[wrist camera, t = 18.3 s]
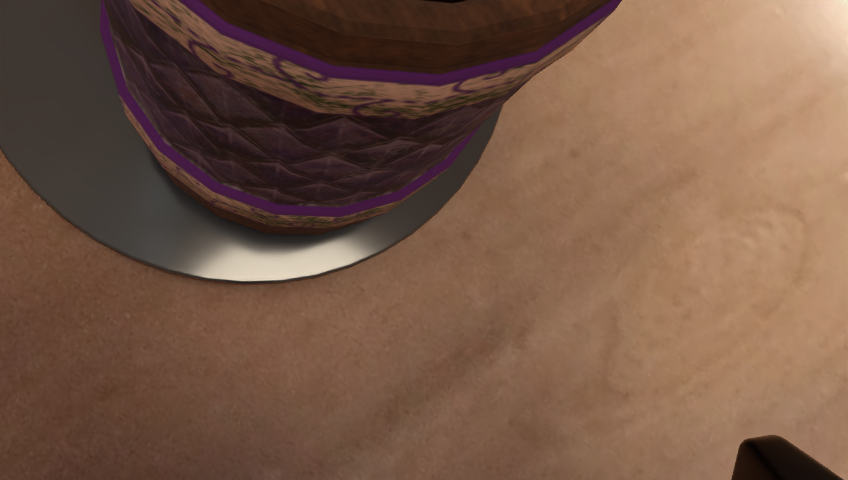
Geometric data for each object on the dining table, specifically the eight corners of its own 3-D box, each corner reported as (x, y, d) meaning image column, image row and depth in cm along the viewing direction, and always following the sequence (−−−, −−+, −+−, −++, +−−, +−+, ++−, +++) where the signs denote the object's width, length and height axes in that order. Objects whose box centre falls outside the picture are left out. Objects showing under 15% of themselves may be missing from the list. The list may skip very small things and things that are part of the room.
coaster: (385, 371, 18) (390, 372, 18) (-150, 136, 16) (-164, 129, 16) (576, -71, 20) (586, -82, 20) (123, -329, 18) (119, -350, 18)
